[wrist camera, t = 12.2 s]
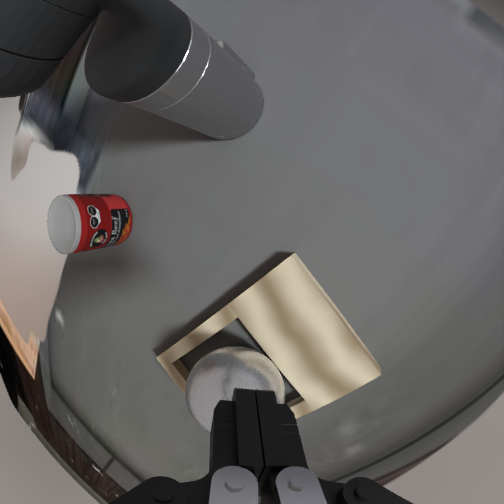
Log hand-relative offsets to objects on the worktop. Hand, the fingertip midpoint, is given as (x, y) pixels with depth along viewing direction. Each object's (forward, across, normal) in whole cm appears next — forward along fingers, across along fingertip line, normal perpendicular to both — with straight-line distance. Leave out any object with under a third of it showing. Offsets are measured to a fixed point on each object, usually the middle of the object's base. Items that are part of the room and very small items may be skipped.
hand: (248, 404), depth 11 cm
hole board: (+24, -6, +16) cm, 30 cm away
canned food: (+36, +18, +3) cm, 41 cm away
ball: (+19, -2, +17) cm, 26 cm away
